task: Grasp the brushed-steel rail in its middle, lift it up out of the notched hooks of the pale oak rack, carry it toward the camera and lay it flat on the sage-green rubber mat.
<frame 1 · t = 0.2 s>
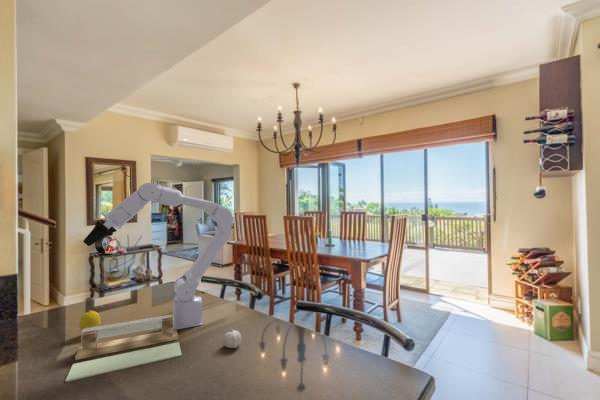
hand: (88, 242, 90), 31 cm above the kitchen counter, tool tilted 45°, fingers open, 7 cm apart
garlic: (232, 347, 88), on the kitchen counter
lemon: (90, 335, 95), on the kitchen counter
rail: (130, 331, 89), point 4 cm above the kitchen counter, touching rack
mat: (128, 360, 80), on the kitchen counter
rack: (130, 344, 89), on the kitchen counter
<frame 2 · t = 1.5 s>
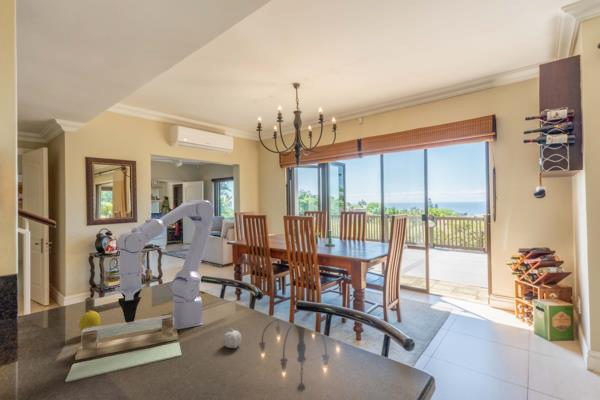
hand: (130, 317, 89), 8 cm above the kitchen counter, tool pointing down, fingers open, 7 cm apart
nothing on the kitchen counter moved.
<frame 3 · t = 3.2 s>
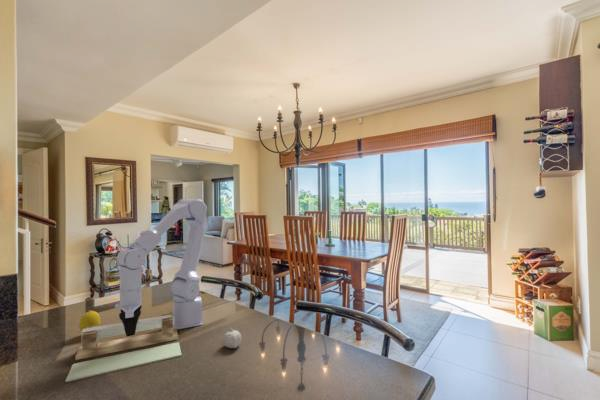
hand: (130, 333, 89), 3 cm above the kitchen counter, tool pointing down, fingers closed on rail, 3 cm apart
rail: (130, 331, 89), point 4 cm above the kitchen counter, touching gripper, rack
everything else where it was.
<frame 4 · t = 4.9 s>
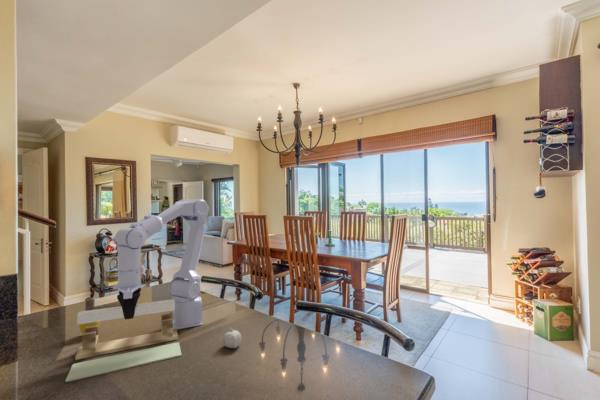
hand: (129, 316, 85), 10 cm above the kitchen counter, tool pointing down, fingers closed on rail, 3 cm apart
rail: (129, 315, 85), point 10 cm above the kitchen counter, touching gripper
everything else where it was.
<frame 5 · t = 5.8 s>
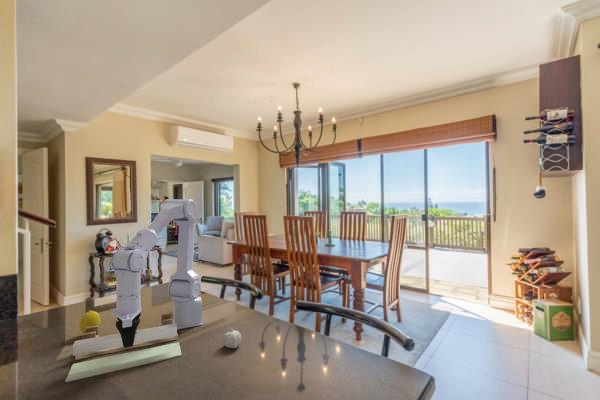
hand: (128, 343, 80), 5 cm above the kitchen counter, tool pointing down, fingers closed on rail, 3 cm apart
rail: (128, 343, 80), point 5 cm above the kitchen counter, touching gripper
everything else where it was.
when the fingers open (2 cm above the kitchen counter, at t = 6.7 s): rail drops 1 cm, resting on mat.
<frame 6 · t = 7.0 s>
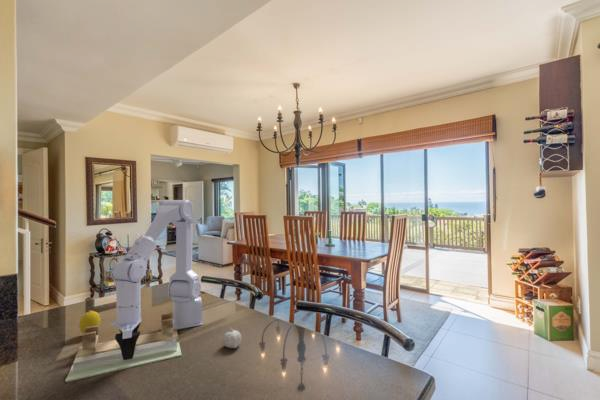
hand: (128, 353, 80), 2 cm above the kitchen counter, tool pointing down, fingers open, 5 cm apart
rail: (128, 359, 80), resting on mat
everything else where it was.
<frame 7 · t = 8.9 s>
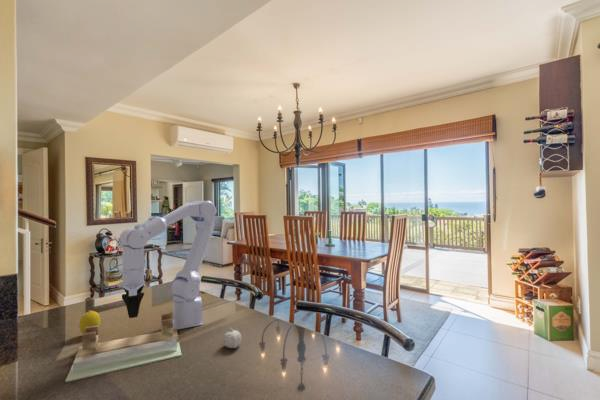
hand: (133, 312, 90), 9 cm above the kitchen counter, tool pointing down, fingers open, 7 cm apart
nothing on the kitchen counter moved.
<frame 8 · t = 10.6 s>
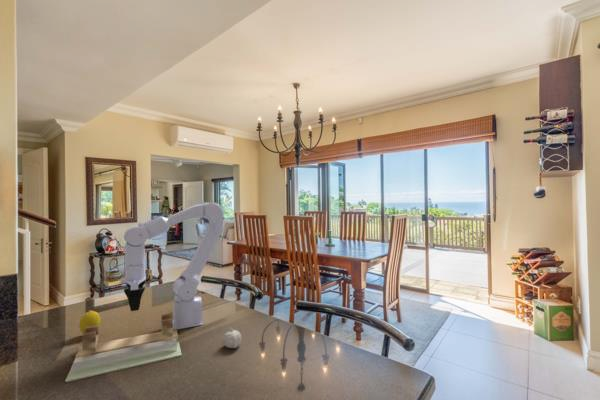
hand: (135, 306, 95), 9 cm above the kitchen counter, tool pointing down, fingers open, 7 cm apart
nothing on the kitchen counter moved.
at the end: rail inside the target area (0.0 cm from its centre), resting on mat; rail touching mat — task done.
